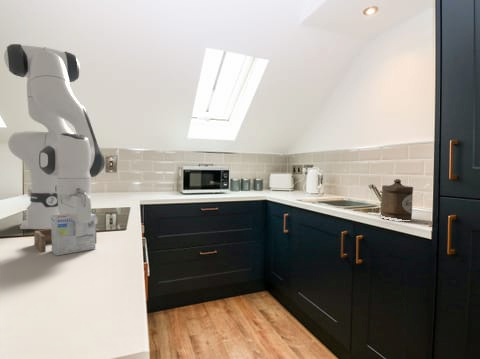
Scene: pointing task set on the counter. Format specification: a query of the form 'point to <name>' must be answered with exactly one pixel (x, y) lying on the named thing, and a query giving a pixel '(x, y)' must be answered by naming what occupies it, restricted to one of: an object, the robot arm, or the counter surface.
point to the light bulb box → (71, 235)
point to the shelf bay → (44, 239)
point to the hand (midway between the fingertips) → (74, 233)
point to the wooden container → (397, 201)
